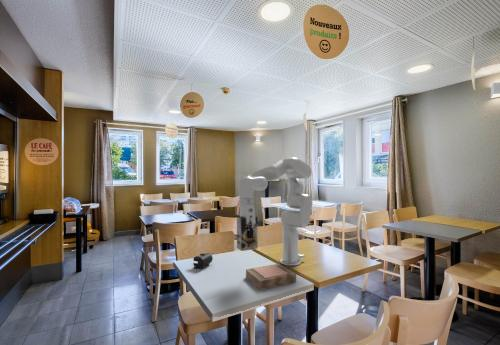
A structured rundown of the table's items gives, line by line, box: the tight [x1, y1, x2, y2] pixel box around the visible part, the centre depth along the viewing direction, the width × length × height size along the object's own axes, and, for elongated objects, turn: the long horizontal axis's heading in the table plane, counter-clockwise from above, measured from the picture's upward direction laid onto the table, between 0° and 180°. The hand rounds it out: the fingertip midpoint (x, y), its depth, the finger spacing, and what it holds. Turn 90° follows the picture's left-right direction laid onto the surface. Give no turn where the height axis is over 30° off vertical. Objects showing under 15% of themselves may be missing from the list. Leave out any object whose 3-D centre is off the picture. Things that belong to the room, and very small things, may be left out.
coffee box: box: [236, 216, 259, 252], centre depth 128 cm, size 9×6×16 cm
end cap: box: [193, 252, 213, 270], centre depth 146 cm, size 10×7×7 cm
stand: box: [245, 263, 297, 291], centre depth 127 cm, size 20×16×4 cm
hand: (247, 236), depth 128 cm, fingers closed on coffee box, 6 cm apart
